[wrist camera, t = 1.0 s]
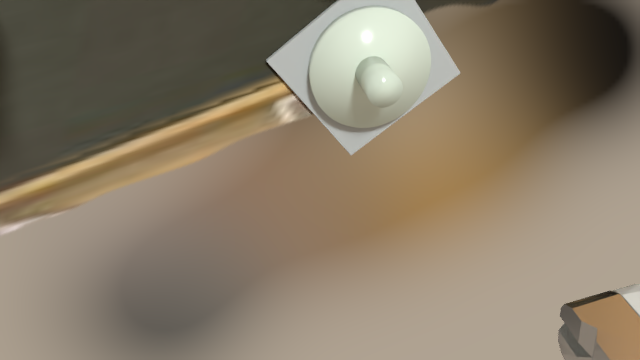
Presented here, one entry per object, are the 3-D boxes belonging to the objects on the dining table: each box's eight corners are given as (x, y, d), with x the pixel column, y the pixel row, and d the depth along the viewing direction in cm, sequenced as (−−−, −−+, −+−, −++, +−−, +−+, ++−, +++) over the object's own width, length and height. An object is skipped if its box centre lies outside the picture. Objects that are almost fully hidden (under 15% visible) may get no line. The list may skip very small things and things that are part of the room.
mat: (350, 153, 52) (351, 155, 52) (266, 59, 45) (266, 61, 45) (458, 71, 49) (460, 73, 49) (387, -42, 42) (389, -41, 42)
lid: (353, 142, 51) (368, 171, 47) (282, 62, 45) (291, 86, 41) (446, 72, 49) (471, 95, 45) (385, -23, 43) (406, -7, 39)
